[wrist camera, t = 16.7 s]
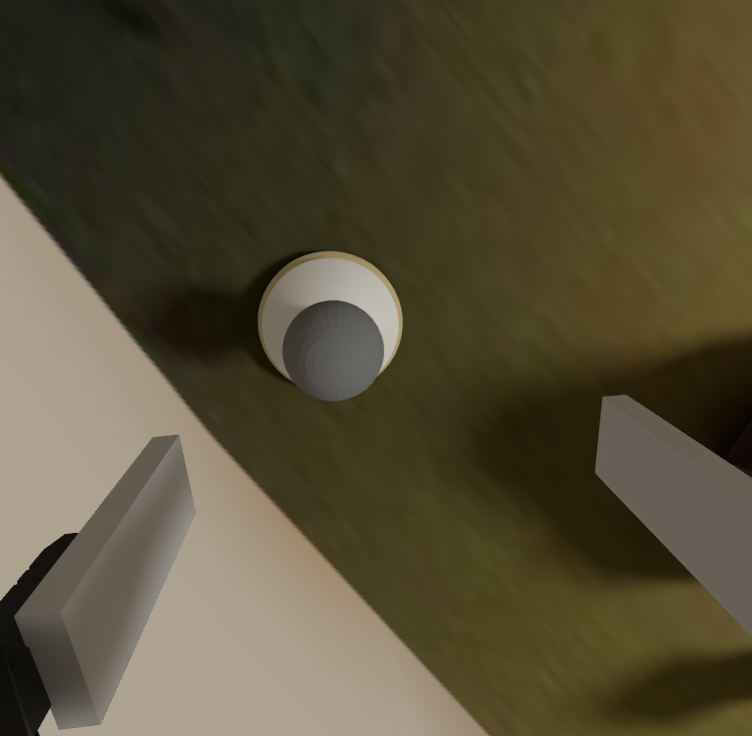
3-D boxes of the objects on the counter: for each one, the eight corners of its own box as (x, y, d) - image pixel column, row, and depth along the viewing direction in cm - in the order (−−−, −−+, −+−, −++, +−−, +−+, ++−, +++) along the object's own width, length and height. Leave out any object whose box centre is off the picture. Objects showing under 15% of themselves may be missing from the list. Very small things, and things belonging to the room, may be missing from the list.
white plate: (259, 245, 35) (255, 247, 33) (406, 255, 36) (410, 257, 34) (260, 385, 38) (256, 393, 37) (395, 390, 39) (397, 398, 38)
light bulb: (317, 375, 37) (314, 435, 27) (274, 307, 35) (255, 346, 25) (387, 338, 36) (408, 386, 27) (348, 267, 34) (356, 291, 25)
